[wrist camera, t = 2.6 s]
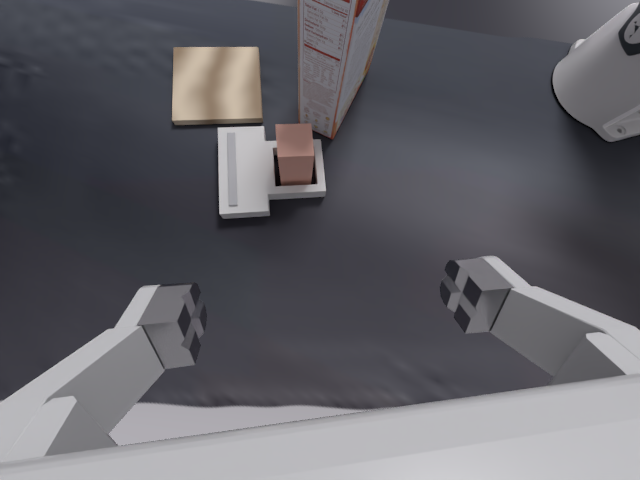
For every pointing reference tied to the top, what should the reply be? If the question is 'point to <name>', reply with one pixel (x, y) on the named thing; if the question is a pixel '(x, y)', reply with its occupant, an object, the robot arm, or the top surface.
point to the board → (216, 85)
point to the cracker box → (334, 57)
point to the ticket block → (295, 153)
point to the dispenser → (256, 173)
